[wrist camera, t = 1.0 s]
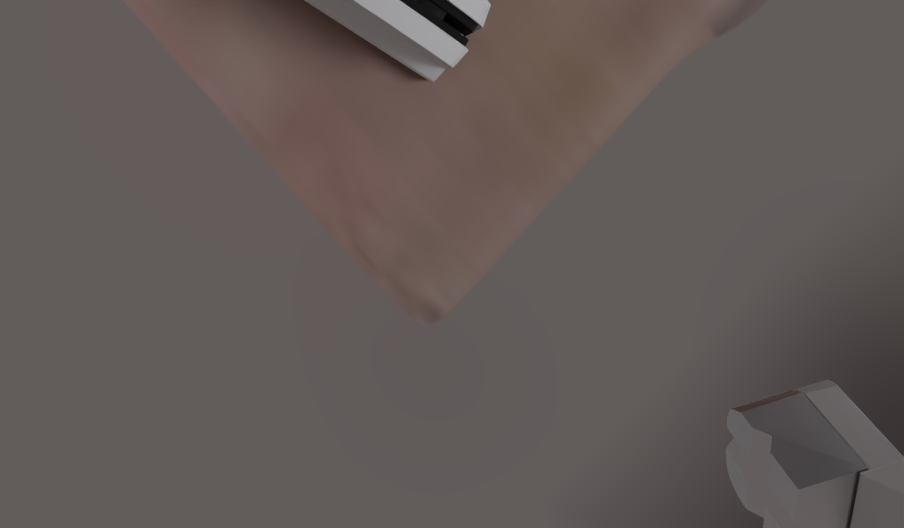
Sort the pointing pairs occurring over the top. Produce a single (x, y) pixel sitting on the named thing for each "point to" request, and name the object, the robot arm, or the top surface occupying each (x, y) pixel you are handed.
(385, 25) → the white arched piece
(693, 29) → the top surface
